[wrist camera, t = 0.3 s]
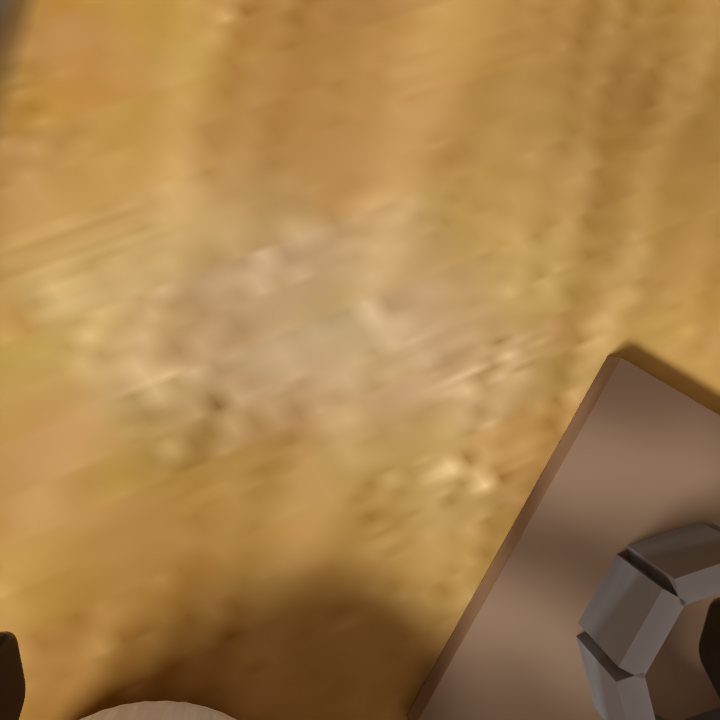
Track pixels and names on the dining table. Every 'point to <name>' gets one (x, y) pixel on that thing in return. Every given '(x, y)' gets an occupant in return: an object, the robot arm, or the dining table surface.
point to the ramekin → (159, 712)
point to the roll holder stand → (599, 573)
